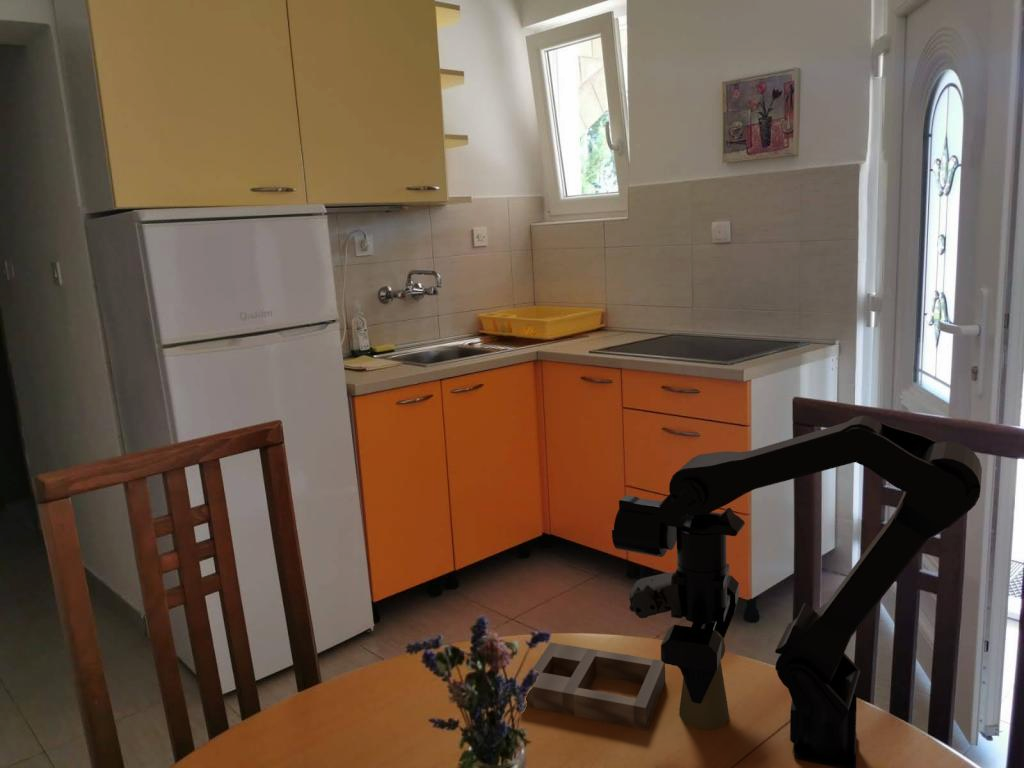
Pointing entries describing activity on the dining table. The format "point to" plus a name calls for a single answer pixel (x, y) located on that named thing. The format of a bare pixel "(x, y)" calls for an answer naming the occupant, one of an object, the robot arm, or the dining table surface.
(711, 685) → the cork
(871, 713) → the dining table surface
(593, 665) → the hole block
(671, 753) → the dining table surface
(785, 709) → the dining table surface
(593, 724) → the dining table surface
